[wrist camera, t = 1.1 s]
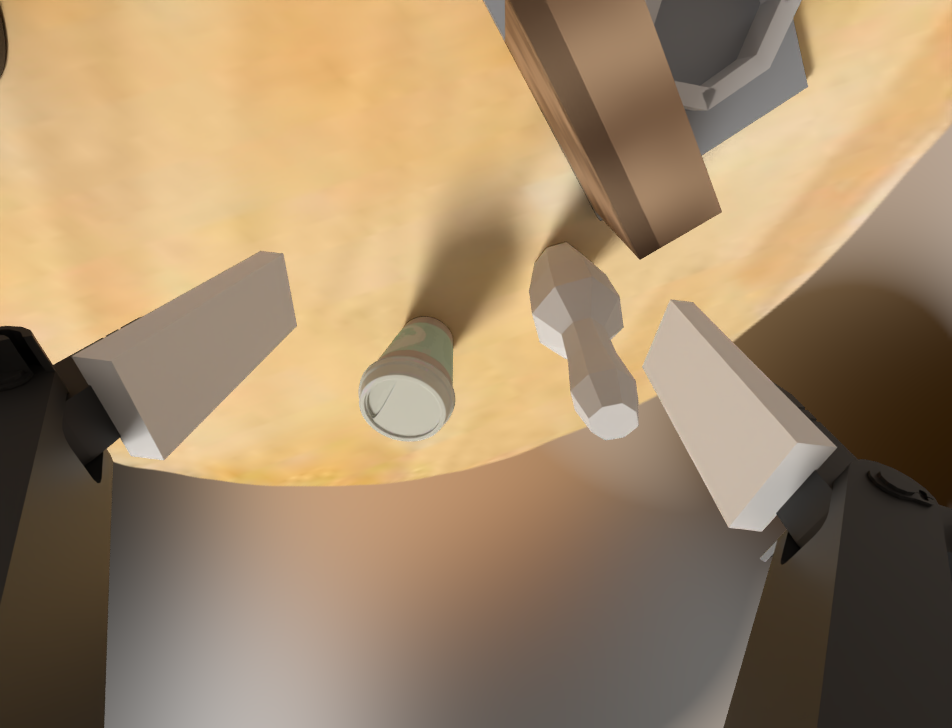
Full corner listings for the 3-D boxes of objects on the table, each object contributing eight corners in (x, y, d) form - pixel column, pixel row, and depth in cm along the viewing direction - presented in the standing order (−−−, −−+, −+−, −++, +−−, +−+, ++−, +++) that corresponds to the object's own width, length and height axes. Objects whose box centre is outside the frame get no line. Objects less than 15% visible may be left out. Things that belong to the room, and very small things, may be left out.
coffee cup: (440, 291, 39) (417, 353, 29) (478, 355, 43) (470, 429, 33) (373, 323, 41) (331, 390, 31) (415, 381, 45) (390, 456, 35)
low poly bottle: (548, 309, 39) (585, 482, 21) (513, 260, 36) (521, 408, 18) (604, 274, 36) (704, 435, 18) (572, 219, 34) (650, 342, 16)
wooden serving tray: (505, 42, 27) (504, -11, 16) (559, -9, 26) (604, -110, 14) (592, 208, 33) (639, 259, 22) (642, 175, 32) (721, 212, 20)
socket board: (463, -36, 25) (458, -56, 22) (710, -300, 19) (746, -373, 17) (597, 218, 34) (606, 228, 31) (799, 87, 28) (833, 84, 25)
